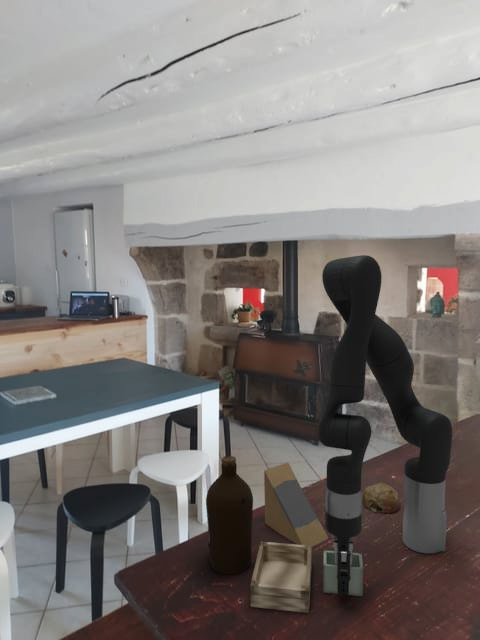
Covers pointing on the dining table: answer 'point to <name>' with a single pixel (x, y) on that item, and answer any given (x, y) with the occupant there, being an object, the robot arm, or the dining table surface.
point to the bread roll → (381, 498)
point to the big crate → (282, 577)
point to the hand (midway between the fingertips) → (342, 580)
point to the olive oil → (229, 520)
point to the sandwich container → (290, 508)
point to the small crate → (355, 571)
